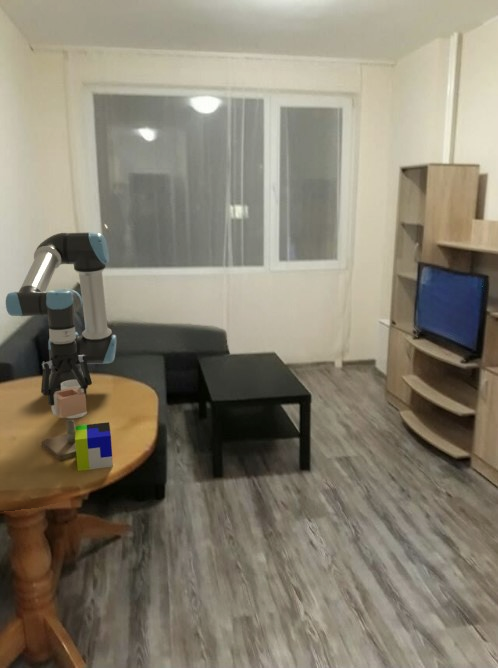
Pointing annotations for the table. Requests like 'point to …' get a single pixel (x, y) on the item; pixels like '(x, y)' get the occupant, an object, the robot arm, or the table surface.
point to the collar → (70, 402)
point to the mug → (72, 384)
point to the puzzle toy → (93, 446)
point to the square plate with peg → (62, 443)
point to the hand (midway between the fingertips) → (69, 410)
